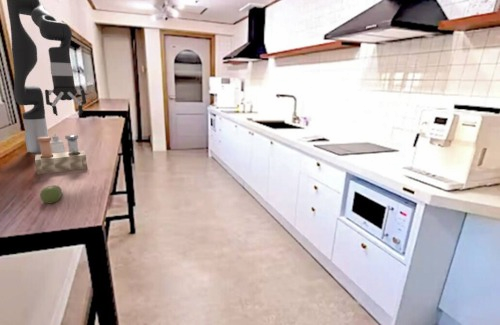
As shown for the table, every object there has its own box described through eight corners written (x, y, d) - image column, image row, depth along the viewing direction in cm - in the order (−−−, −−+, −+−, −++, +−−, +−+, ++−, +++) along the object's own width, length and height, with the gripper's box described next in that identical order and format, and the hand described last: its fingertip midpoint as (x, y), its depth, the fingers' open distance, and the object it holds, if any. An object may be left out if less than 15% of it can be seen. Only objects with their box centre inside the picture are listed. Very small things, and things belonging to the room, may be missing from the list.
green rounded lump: (36, 189, 88) (45, 183, 98) (38, 206, 89) (47, 198, 98) (57, 187, 91) (64, 181, 100) (59, 203, 91) (66, 196, 100)
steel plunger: (68, 160, 124) (65, 137, 121) (68, 157, 128) (64, 135, 125) (81, 158, 127) (78, 136, 124) (80, 156, 131) (77, 134, 128)
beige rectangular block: (37, 174, 117) (34, 160, 116) (38, 168, 125) (35, 155, 123) (87, 168, 127) (85, 154, 125) (85, 162, 134) (83, 150, 133)
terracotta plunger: (40, 163, 119) (36, 139, 116) (41, 160, 123) (37, 137, 120) (54, 161, 121) (50, 138, 119) (54, 158, 125) (50, 136, 122)
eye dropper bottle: (64, 158, 141) (60, 133, 137) (50, 158, 139) (46, 134, 135) (66, 155, 145) (62, 132, 141) (53, 156, 143) (49, 132, 139)
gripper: (81, 75, 124) (86, 113, 128) (41, 74, 116) (48, 114, 120) (83, 75, 118) (88, 115, 122) (41, 74, 110) (48, 116, 114)
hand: (68, 114), depth 121 cm, fingers open, 8 cm apart
